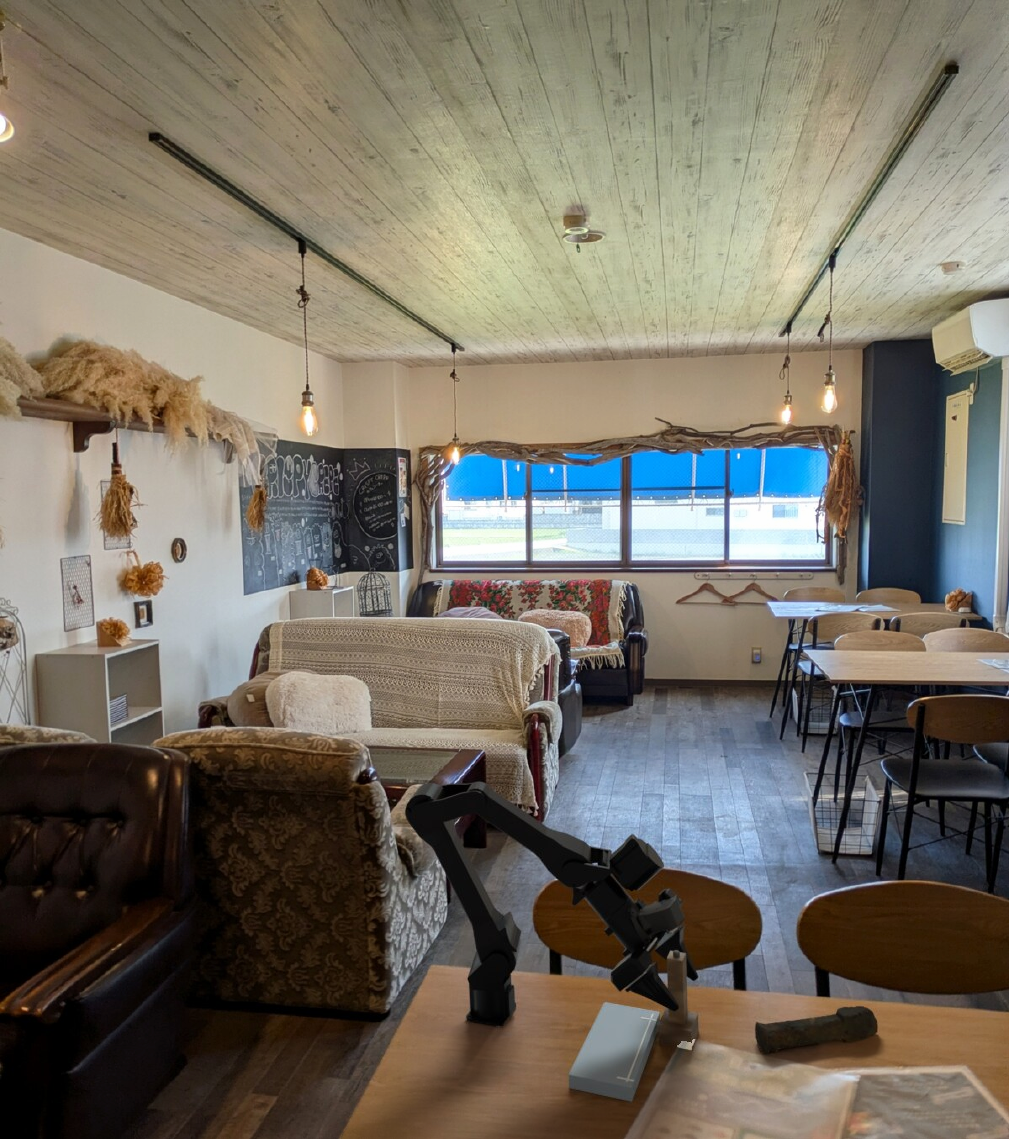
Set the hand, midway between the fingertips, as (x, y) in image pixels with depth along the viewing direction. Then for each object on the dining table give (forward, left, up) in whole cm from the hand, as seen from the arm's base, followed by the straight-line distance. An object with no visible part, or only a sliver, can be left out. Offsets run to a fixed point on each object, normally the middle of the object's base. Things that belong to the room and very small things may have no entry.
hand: (687, 993), depth 132 cm
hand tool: (+18, +6, -8) cm, 21 cm away
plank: (-9, -7, -7) cm, 14 cm away
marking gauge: (-1, 0, -7) cm, 7 cm away
